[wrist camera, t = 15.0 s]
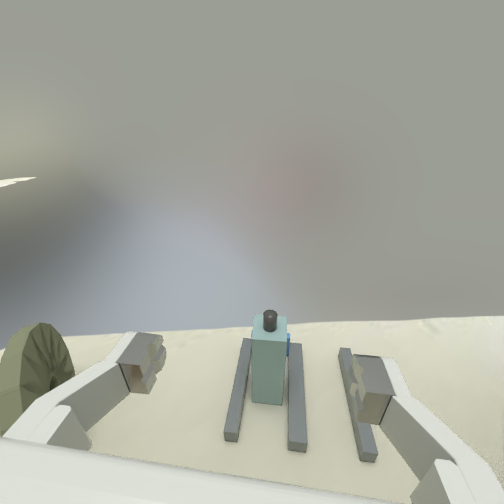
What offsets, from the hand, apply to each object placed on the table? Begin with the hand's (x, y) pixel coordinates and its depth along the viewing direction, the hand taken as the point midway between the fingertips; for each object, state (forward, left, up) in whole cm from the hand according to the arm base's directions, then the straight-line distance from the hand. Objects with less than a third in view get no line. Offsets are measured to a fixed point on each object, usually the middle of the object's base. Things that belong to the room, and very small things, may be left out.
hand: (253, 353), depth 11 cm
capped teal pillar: (0, -15, -25) cm, 29 cm away
